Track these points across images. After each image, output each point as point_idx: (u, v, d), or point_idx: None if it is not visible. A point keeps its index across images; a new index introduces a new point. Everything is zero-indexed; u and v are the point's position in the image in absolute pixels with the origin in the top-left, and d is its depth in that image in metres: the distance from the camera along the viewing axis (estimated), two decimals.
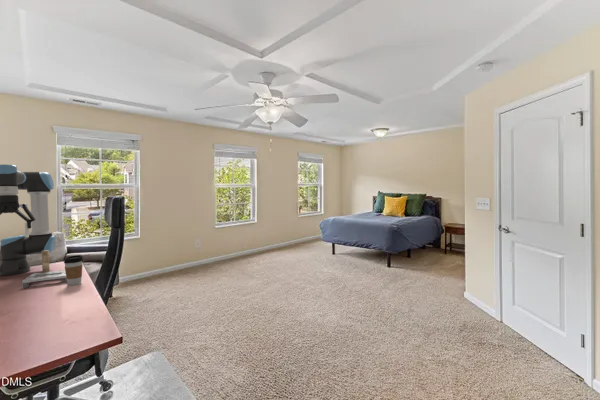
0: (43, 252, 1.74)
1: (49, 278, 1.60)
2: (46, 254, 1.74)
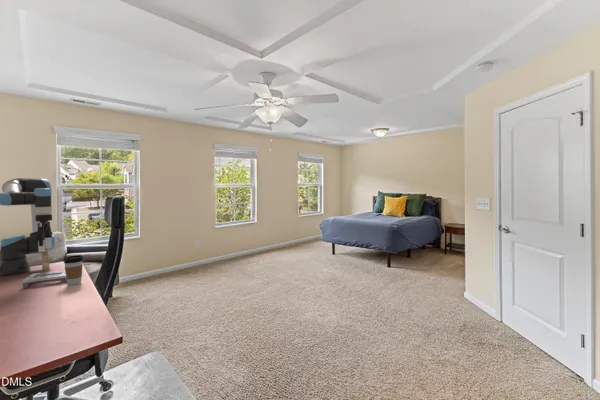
0: (43, 252, 1.74)
1: (49, 278, 1.60)
2: (46, 254, 1.74)
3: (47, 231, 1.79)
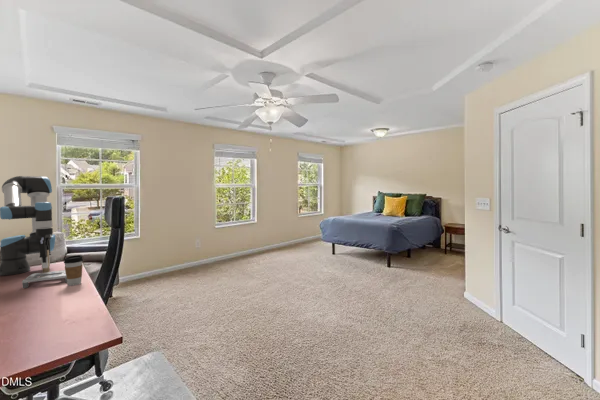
0: None
1: (49, 278, 1.60)
2: None
3: (46, 246, 1.77)
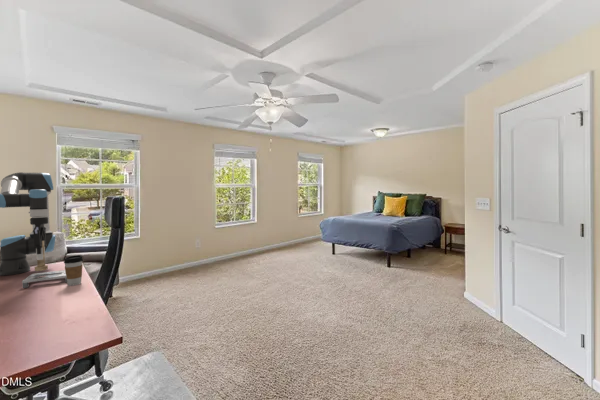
0: None
1: (49, 278, 1.60)
2: None
3: (41, 237, 1.65)
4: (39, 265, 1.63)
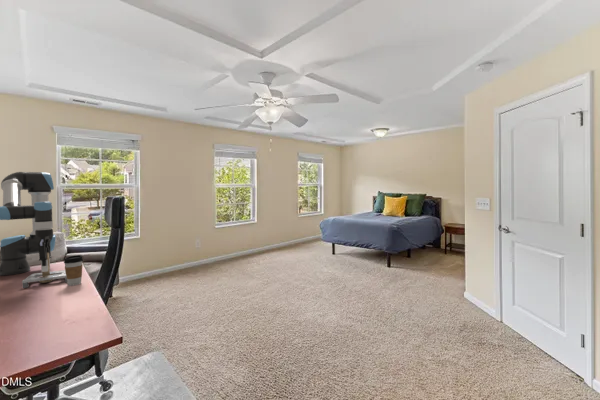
0: None
1: (49, 278, 1.60)
2: None
3: (46, 249, 1.66)
4: None
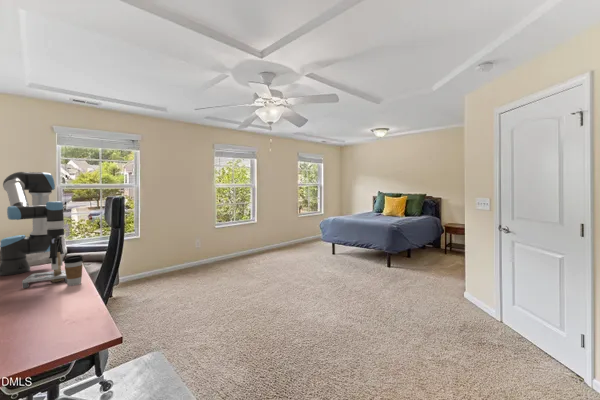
0: None
1: (49, 278, 1.60)
2: (58, 256, 1.67)
3: (58, 247, 1.70)
4: None
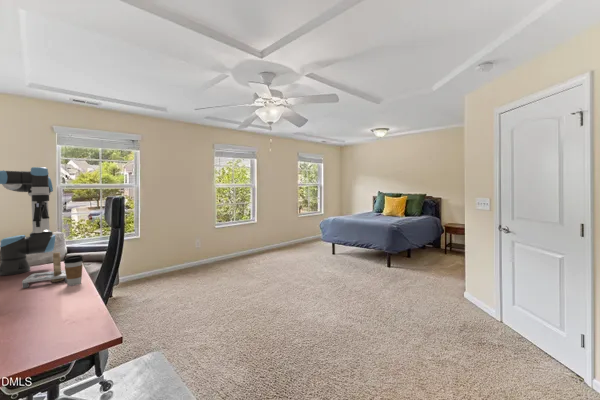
0: (54, 254, 1.66)
1: (49, 278, 1.60)
2: (57, 256, 1.67)
3: (44, 212, 1.73)
4: None
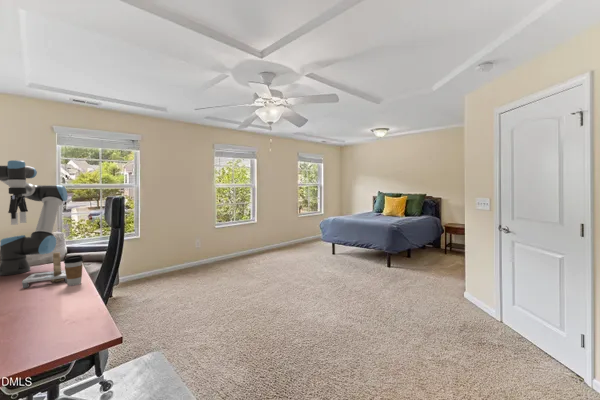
0: (54, 254, 1.66)
1: (49, 278, 1.60)
2: (57, 256, 1.67)
3: (21, 205, 1.75)
4: None
